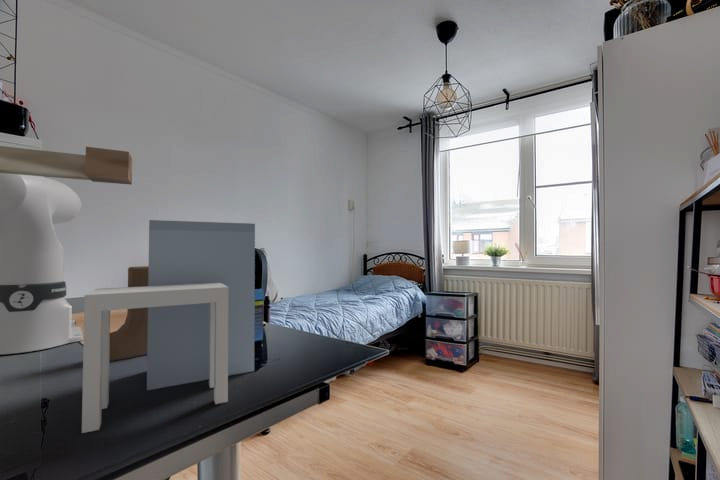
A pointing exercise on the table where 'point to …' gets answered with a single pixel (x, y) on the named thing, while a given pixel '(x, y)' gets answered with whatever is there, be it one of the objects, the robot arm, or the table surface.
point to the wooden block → (132, 323)
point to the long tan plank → (69, 164)
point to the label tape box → (258, 315)
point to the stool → (143, 297)
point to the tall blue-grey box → (191, 321)
